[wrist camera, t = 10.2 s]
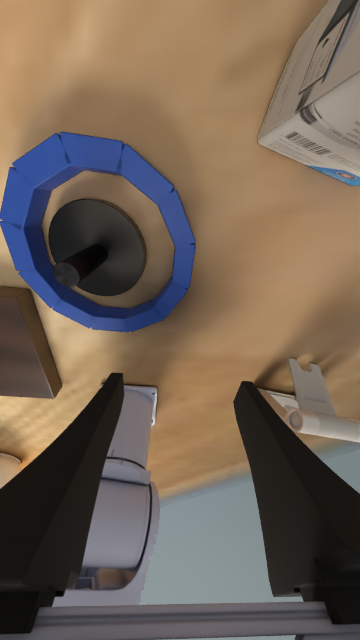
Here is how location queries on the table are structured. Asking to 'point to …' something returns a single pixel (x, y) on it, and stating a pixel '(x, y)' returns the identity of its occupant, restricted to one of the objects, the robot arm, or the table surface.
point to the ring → (30, 204)
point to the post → (96, 247)
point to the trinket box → (8, 468)
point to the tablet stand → (311, 406)
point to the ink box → (321, 96)
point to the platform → (24, 349)
